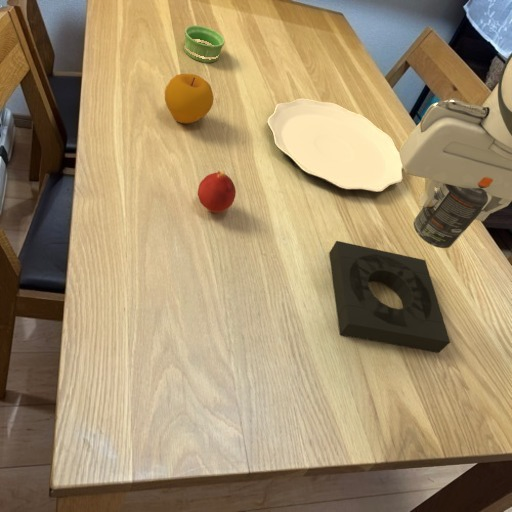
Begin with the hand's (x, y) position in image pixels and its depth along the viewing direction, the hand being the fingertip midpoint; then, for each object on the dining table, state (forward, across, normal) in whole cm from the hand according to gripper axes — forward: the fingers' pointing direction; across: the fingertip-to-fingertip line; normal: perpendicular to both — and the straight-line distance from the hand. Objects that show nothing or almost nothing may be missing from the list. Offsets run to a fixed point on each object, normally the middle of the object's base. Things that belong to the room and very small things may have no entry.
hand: (450, 211), depth 62 cm
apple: (+20, -34, +35) cm, 53 cm away
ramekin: (+20, -33, +63) cm, 74 cm away
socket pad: (+20, +1, 0) cm, 20 cm away
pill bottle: (+4, 0, 0) cm, 4 cm away
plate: (+20, -3, +38) cm, 43 cm away
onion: (+20, -27, +12) cm, 36 cm away
